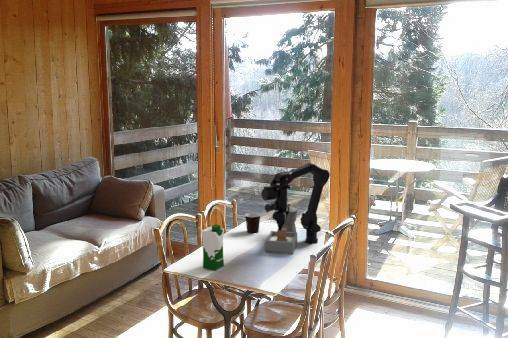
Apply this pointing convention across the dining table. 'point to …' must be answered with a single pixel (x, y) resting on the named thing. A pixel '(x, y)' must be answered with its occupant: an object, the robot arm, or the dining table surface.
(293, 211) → the coffeepot
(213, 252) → the milk carton
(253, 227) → the coffee mug
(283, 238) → the peg
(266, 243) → the bore box
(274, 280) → the dining table surface
